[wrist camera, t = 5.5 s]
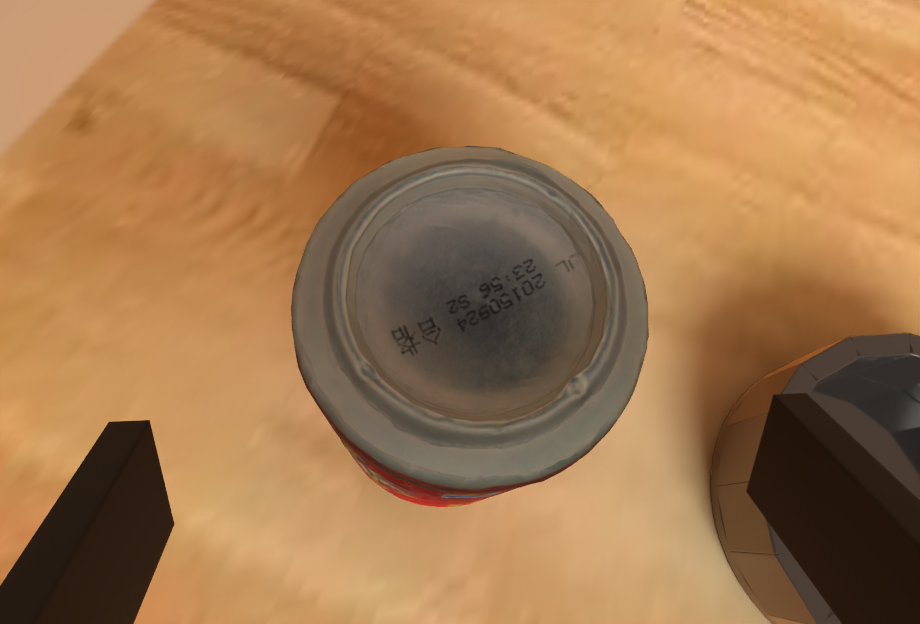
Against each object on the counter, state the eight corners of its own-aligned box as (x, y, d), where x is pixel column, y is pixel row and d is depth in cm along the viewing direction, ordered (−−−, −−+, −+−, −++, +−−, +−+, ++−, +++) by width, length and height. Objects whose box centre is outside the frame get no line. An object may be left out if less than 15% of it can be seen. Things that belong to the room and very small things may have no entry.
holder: (834, 743, 21) (916, 783, 17) (652, 438, 23) (693, 423, 20) (1062, 573, 23) (1172, 580, 20) (873, 314, 26) (942, 283, 23)
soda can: (303, 383, 23) (206, 235, 11) (462, 282, 25) (518, 67, 13) (413, 553, 21) (432, 582, 10) (573, 432, 23) (748, 337, 12)
